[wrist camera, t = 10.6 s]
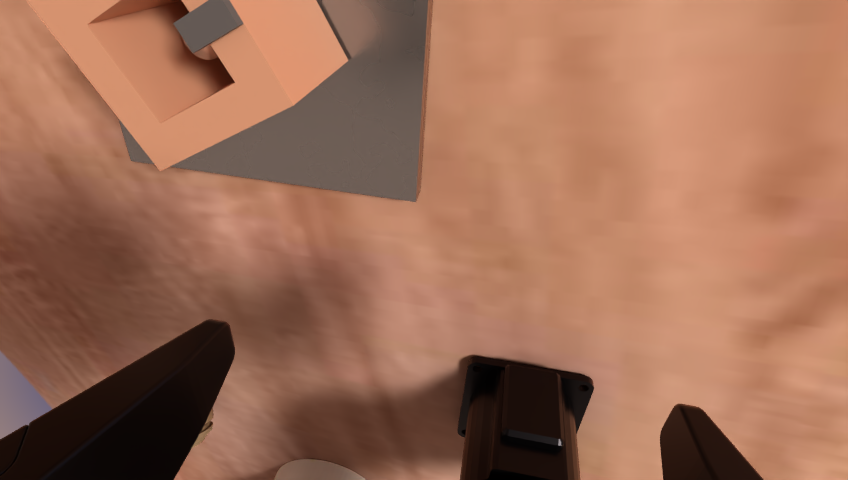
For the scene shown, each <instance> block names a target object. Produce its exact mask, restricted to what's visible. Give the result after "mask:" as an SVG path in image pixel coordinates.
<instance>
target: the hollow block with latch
mask: <svg viewBox="0 0 848 480" xmlns="http://www.w3.org/2000/svg"><path fill="white" fill-rule="evenodd" d="M27 2H28V4H29V5H30V6H31V8H32V9H33V10H34V11H35V13H36V14H37V15H38V16H39V18H40V19H41V20H42V22H43V23H44V24H45V25H46V27H47V28H48V29H49V30H50V32H51V33H52V34H53V36H54V37H55V38H56V39H57V41H58V42H59V43H60V44H61V46H62V47H63V48H64V50H65V51H66V52H67V53H68V55H69V56H70V57H71V58H72V60H73V61H74V62H75V64H76V65H77V66H78V67H79V69H80V70H81V71H82V72H83V74H84V75H85V76H86V78H87V79H88V80H89V81H90V83H91V84H92V85H93V86H94V88H95V89H96V90H97V92H98V93H99V94H100V95H101V97H102V98H103V99H104V100H105V102H106V103H107V104H108V106H109V107H110V108H111V109H112V111H113V112H114V113H115V114H116V116H117V117H118V118H119V120H120V121H121V122H122V123H123V125H124V126H125V127H126V128H127V130H128V131H129V132H130V134H131V135H132V136H133V137H134V139H135V140H136V141H137V142H138V144H139V145H140V146H141V148H142V149H143V150H144V151H145V153H146V154H147V155H148V156H149V158H150V159H151V160H152V162H153V163H154V164H155V165H156V167H157V168H158V169H159V170H160V171H162V170H164V169H166V168H168V167H170V166H172V165H174V164H176V163H178V162H180V161H182V160H184V159H186V158H188V157H190V156H192V155H194V154H196V153H198V152H200V151H202V150H204V149H206V148H208V147H210V146H212V145H214V144H217V143H219V142H221V141H223V140H225V139H227V138H229V137H231V136H233V135H235V134H237V133H239V132H241V131H243V130H245V129H247V128H249V127H251V126H253V125H255V124H257V123H259V122H261V121H263V120H265V119H267V118H269V117H271V116H273V115H275V114H277V113H279V112H281V111H283V110H285V109H287V108H289V107H292V106H294V105H295V104H296V103H297V102H298V101H300V100H301V99H302V98H303V97H305V96H306V95H307V94H308V93H309V92H311V91H312V90H313V89H314V88H316V87H317V86H318V85H319V84H321V83H322V82H323V81H324V80H325V79H327V78H328V77H329V76H330V75H332V74H333V73H334V72H335V71H336V70H338V69H339V68H340V67H341V66H343V65H344V64H345V63H346V62H347V61H348V59H347V57H346V55H345V53H344V51H343V49H342V48H341V46H340V44H339V42H338V40H337V38H336V36H335V34H334V33H333V31H332V29H331V27H330V25H329V23H328V21H327V19H326V17H325V16H324V14H323V12H322V10H321V8H320V6H319V4H318V2H317V1H316V0H27ZM182 37H183V38H182ZM183 39H184V40H185V42H186V43H187V45H188V46H189V48H190V49H191V51H192V52H193V53H195V52H197V51H199V50H201V49H203V48H204V47H206V46H208V45H209V44H210V45H211V46H212V48H213V49H214V51H215V52H216V54H217V55H218V57H217V58H215V59H212V60H205V59H202V58H199V57H197V56H196V55H194V54H193V53H192V52H191V51H190V50H189V49H188V48H187V46H186V45H185V43H184V41H183Z"/></svg>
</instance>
